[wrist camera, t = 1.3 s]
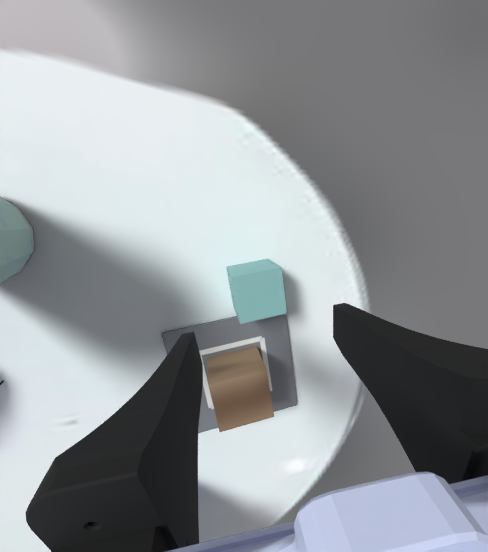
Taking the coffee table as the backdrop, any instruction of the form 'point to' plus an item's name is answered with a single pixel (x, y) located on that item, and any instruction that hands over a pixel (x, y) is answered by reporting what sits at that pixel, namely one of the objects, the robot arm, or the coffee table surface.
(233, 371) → the walnut block
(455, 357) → the robot arm
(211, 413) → the mat
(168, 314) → the coffee table surface
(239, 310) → the teal cube
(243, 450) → the coffee table surface
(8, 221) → the disposable coffee cup
